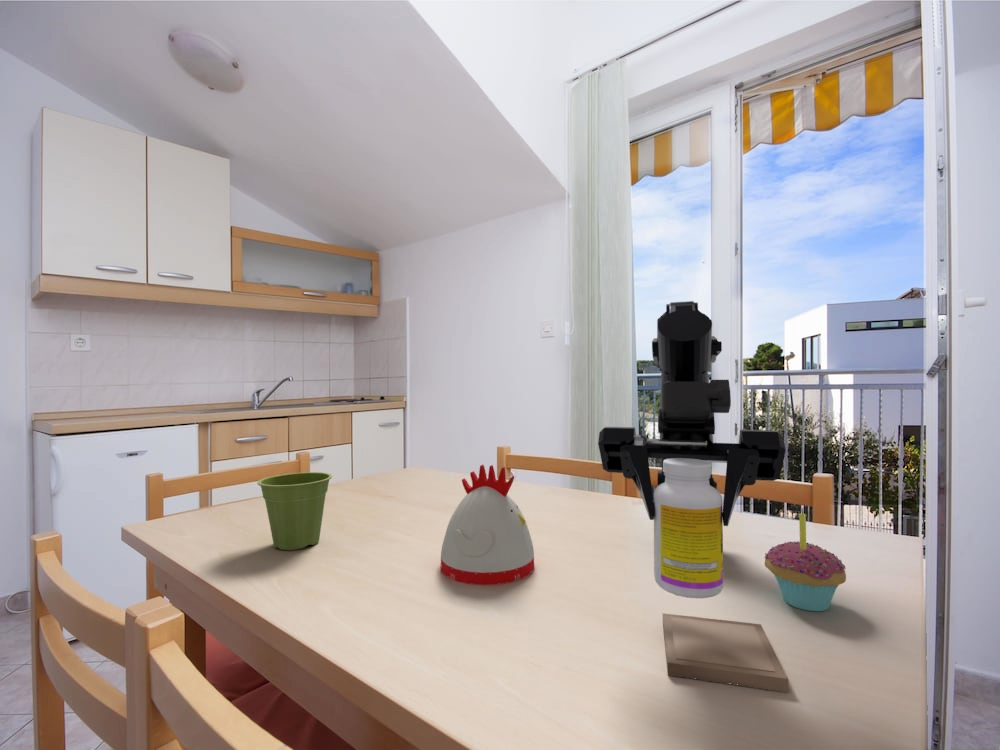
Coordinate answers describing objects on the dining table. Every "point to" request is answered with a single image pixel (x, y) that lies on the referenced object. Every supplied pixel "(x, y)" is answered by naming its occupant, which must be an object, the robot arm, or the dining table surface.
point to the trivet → (721, 652)
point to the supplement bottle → (688, 530)
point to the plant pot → (295, 507)
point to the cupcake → (805, 572)
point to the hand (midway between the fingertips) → (687, 520)
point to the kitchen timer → (487, 535)
